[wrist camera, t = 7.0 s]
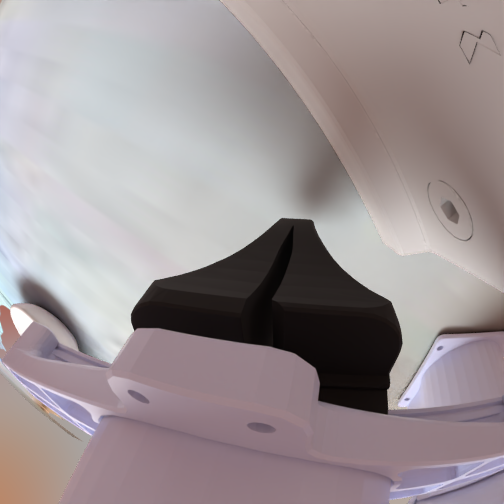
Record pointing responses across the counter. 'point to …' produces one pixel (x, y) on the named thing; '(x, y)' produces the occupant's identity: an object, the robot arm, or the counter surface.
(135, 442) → the robot arm
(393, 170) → the white curved piece
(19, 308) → the spoon rest
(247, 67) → the counter surface
